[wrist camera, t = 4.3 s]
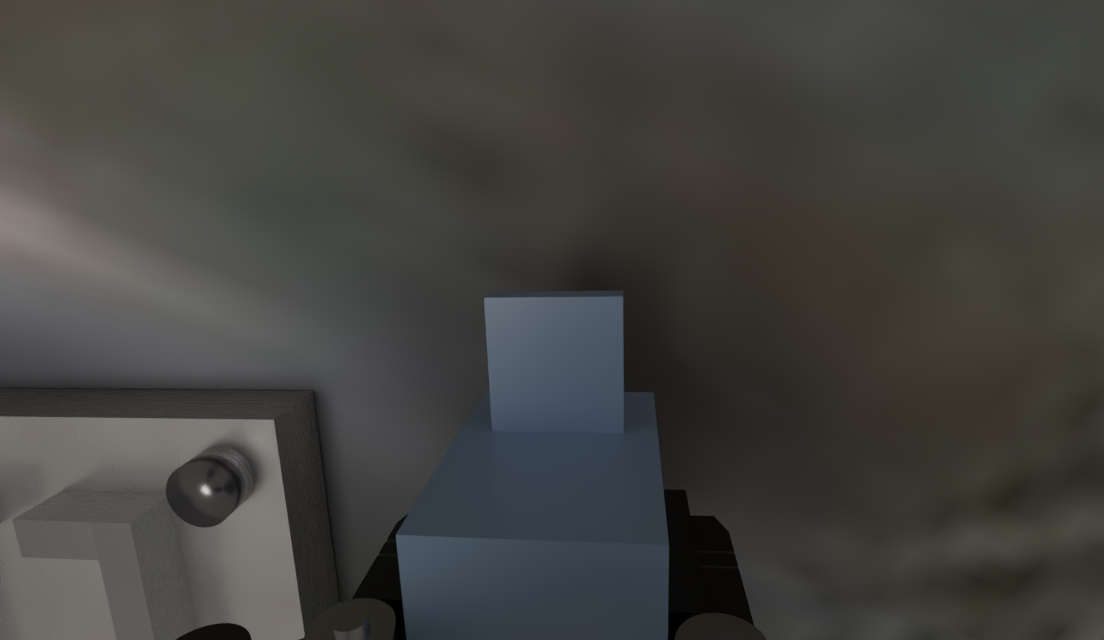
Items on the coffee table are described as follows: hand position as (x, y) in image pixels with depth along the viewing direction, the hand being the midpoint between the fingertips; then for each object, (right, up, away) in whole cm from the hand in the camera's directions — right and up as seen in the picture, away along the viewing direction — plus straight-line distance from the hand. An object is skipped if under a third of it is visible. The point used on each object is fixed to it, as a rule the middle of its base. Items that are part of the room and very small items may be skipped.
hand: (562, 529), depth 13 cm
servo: (0, 0, +1) cm, 1 cm away
